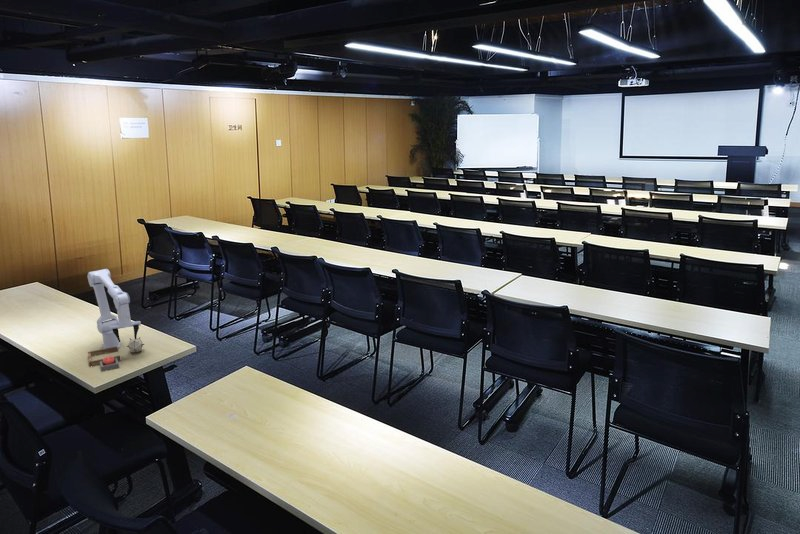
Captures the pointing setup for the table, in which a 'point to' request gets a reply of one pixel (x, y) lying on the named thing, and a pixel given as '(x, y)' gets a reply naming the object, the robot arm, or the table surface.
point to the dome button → (108, 360)
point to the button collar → (109, 367)
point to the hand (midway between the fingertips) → (127, 340)
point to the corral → (101, 351)
